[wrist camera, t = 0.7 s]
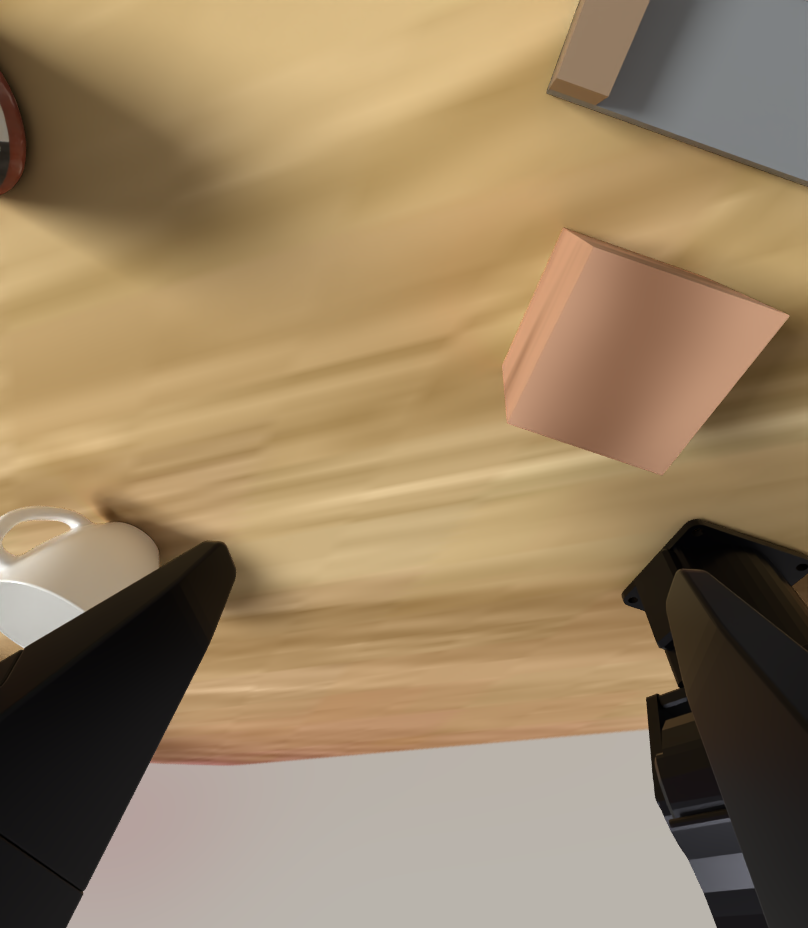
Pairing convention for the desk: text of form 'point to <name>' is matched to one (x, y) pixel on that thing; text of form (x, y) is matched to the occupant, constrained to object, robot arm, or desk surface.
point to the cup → (67, 570)
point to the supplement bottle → (10, 139)
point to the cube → (628, 352)
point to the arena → (697, 74)
